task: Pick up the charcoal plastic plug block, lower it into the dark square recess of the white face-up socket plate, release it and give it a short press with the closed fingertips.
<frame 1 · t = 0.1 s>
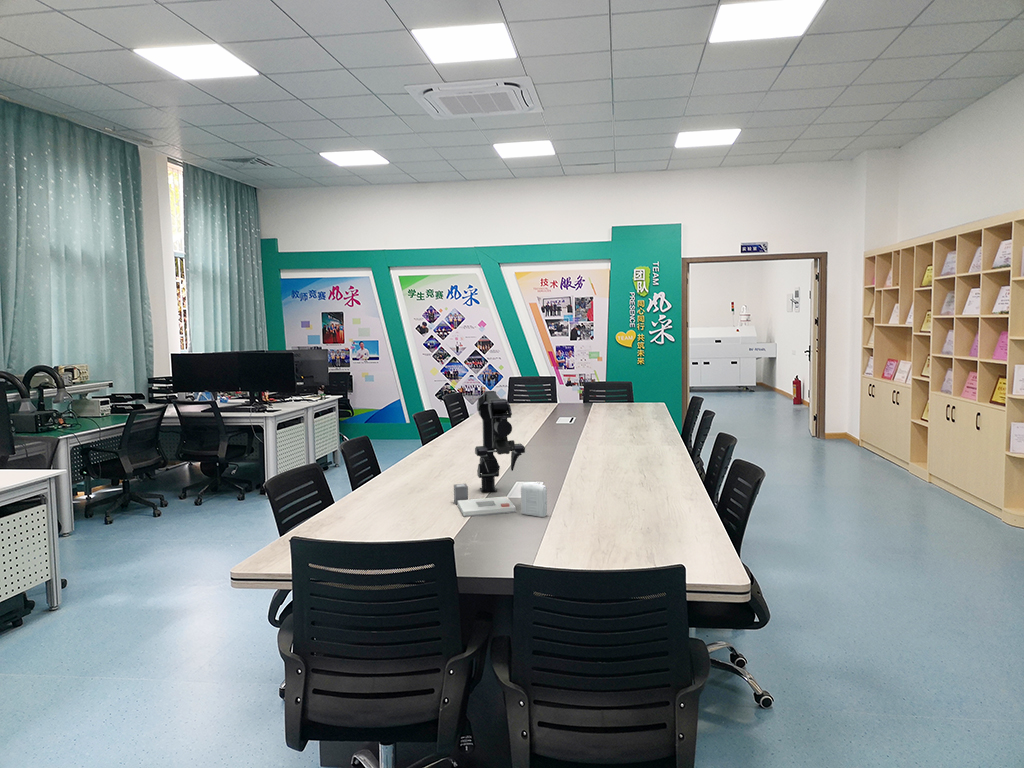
hand: (500, 471, 259), 15 cm above the table, tool pointing down, fingers open, 9 cm apart
plug: (461, 502, 271), on the table
socket plate: (486, 508, 261), on the table
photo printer: (534, 515, 252), on the table
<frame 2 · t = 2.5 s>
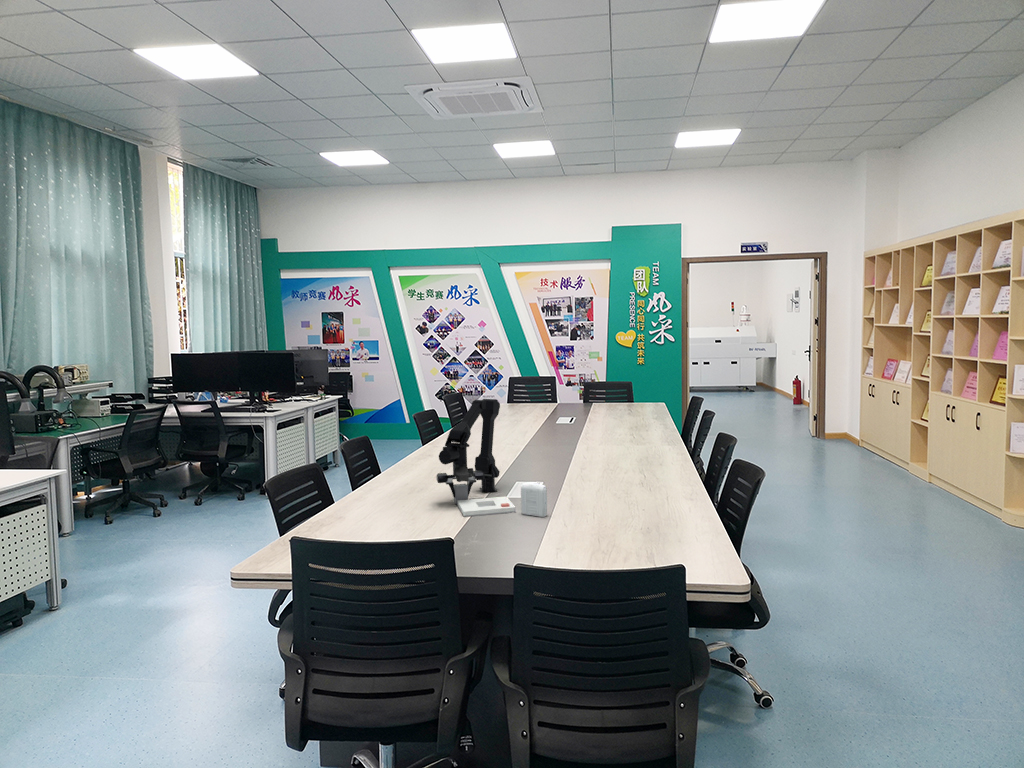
hand: (461, 497, 270), 2 cm above the table, tool pointing down, fingers closed on plug, 5 cm apart
plug: (461, 502, 271), on the table, touching gripper
everything else where it was.
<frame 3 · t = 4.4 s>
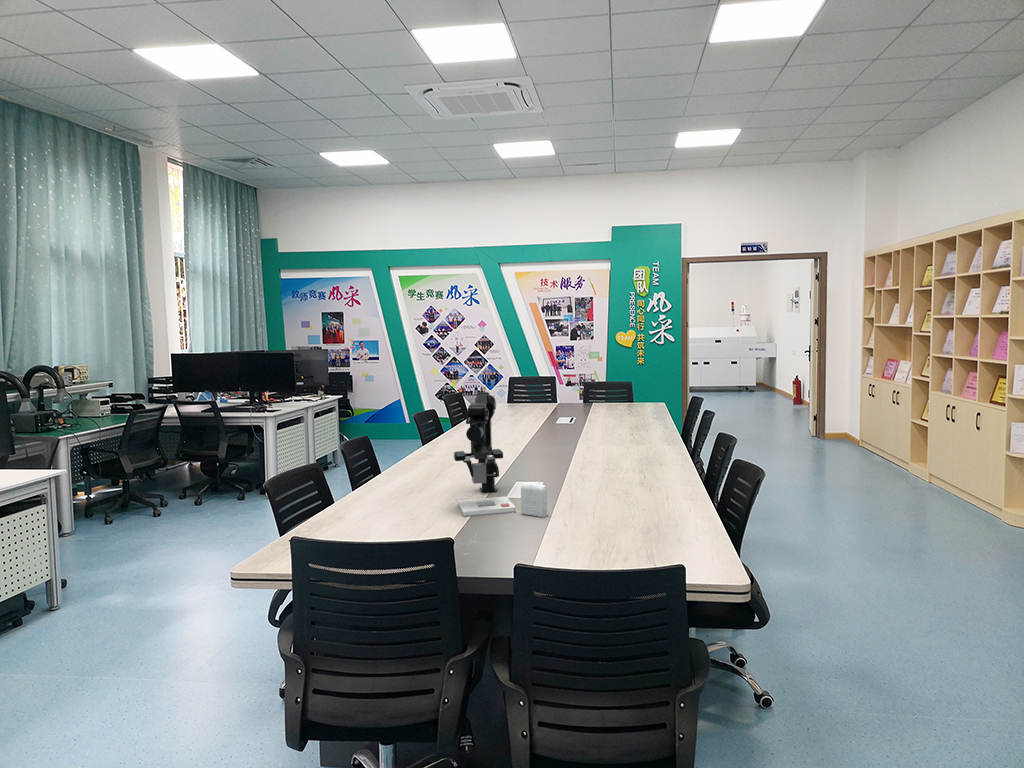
hand: (478, 476, 261), 12 cm above the table, tool pointing down, fingers closed on plug, 5 cm apart
plug: (479, 481, 261), point 10 cm above the table, touching gripper
everything else where it was.
when the fingers open (4 cm above the table, at t = 6.6 s): plug drops 1 cm, resting on socket plate.
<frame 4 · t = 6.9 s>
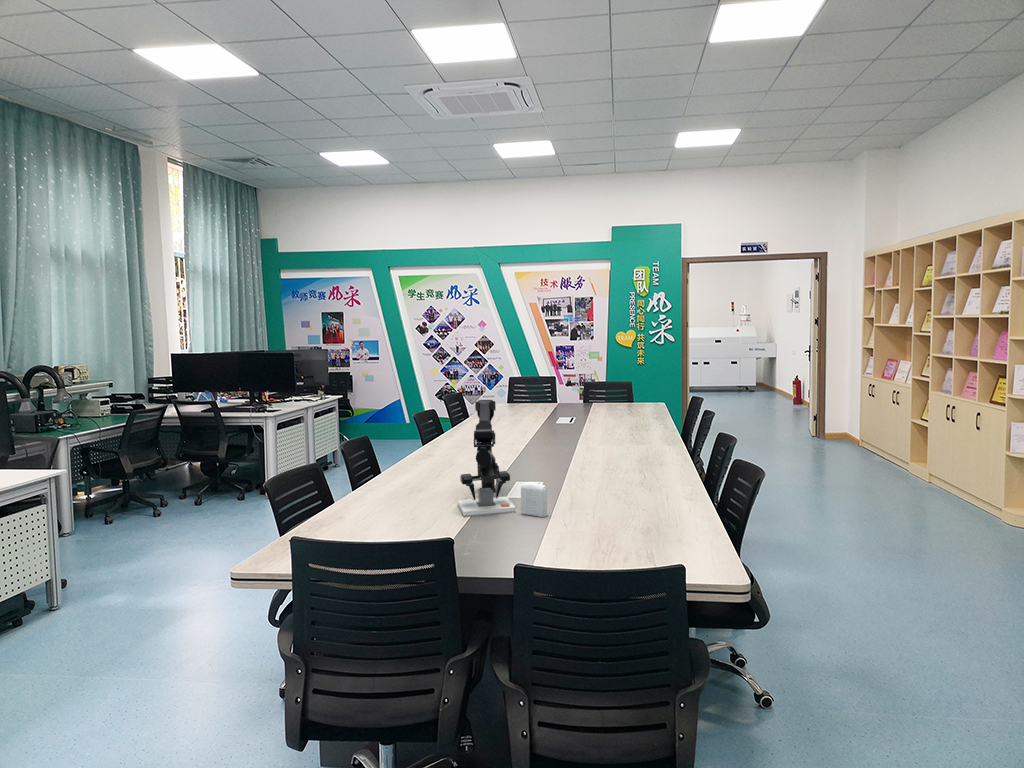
hand: (485, 499, 260), 4 cm above the table, tool pointing down, fingers open, 8 cm apart
plug: (486, 507, 261), point 1 cm above the table, touching socket plate
everything else where it was.
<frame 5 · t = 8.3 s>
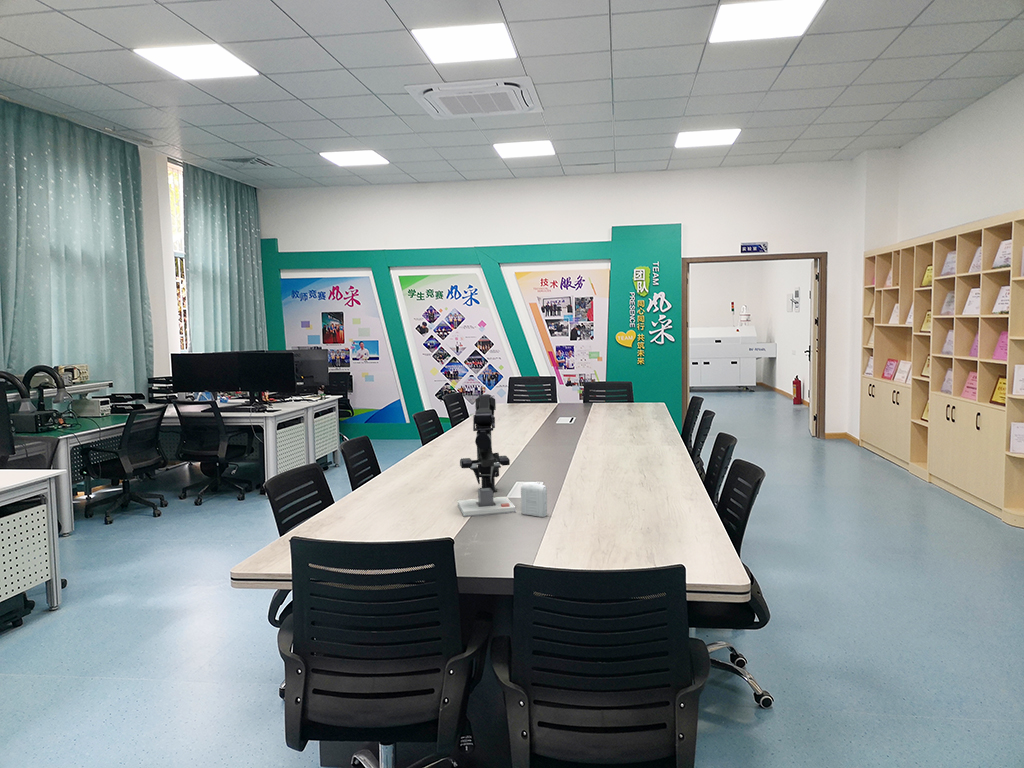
hand: (485, 483, 260), 10 cm above the table, tool pointing down, fingers open, 5 cm apart
nothing on the table moved.
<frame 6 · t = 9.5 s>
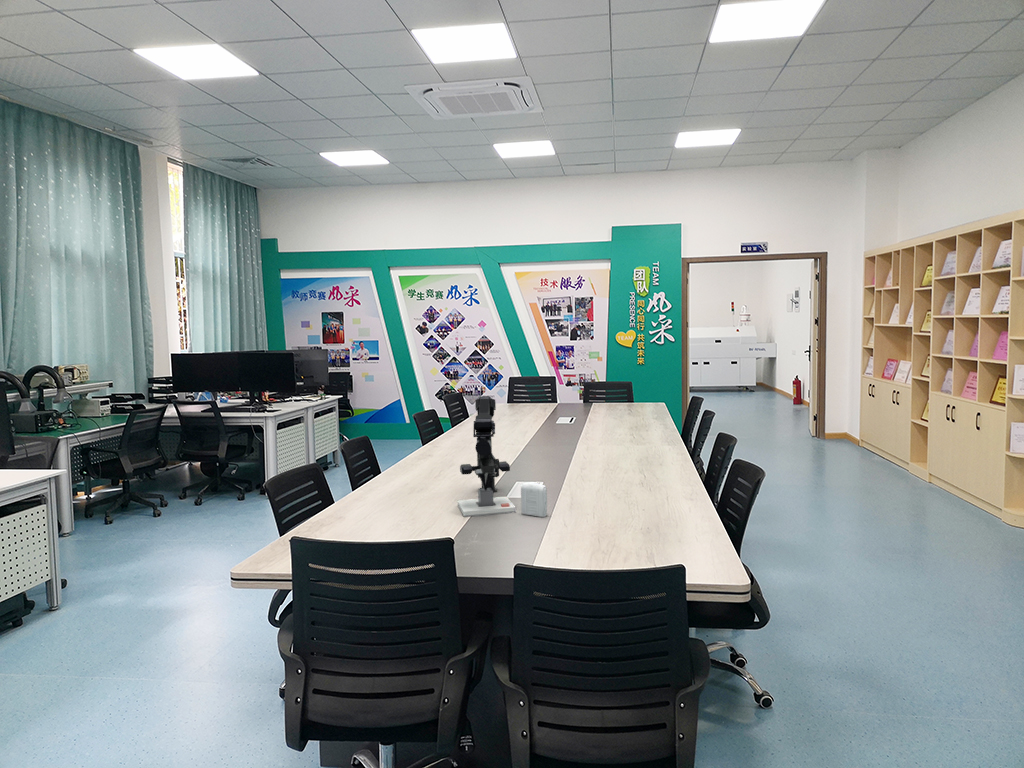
hand: (485, 489, 260), 8 cm above the table, tool pointing down, fingers closed, pressing on plug
plug: (486, 507, 261), point 1 cm above the table, touching gripper, socket plate
everything else where it was.
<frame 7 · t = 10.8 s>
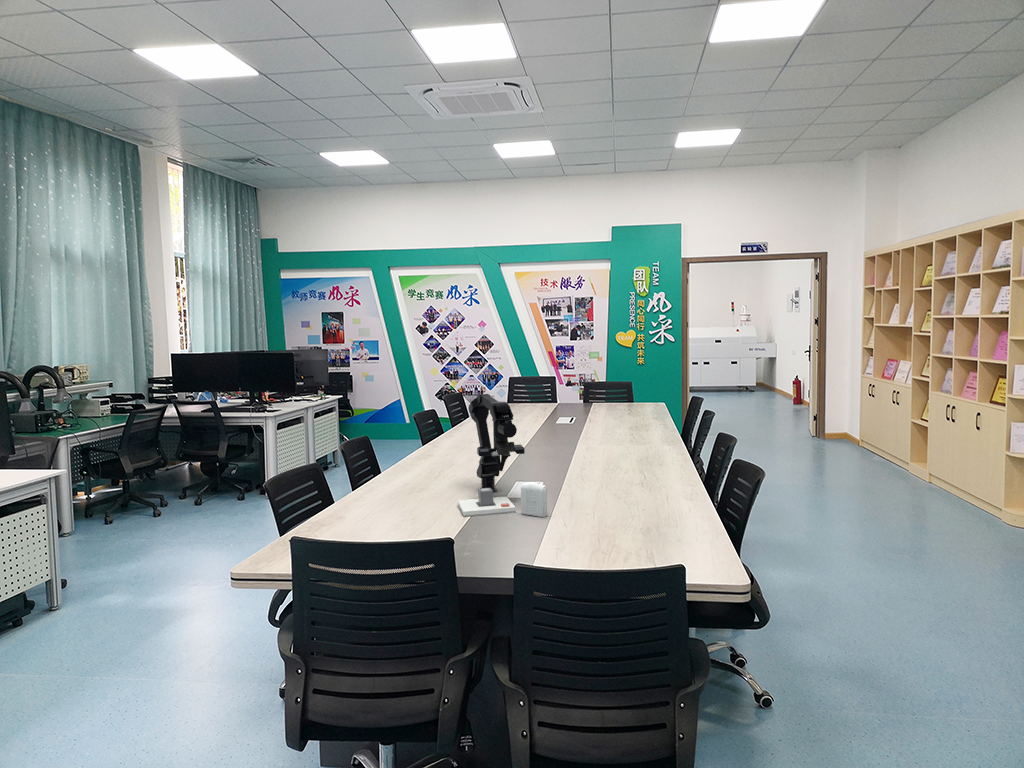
hand: (501, 471, 273), 12 cm above the table, tool pointing down, fingers closed
plug: (486, 507, 261), point 1 cm above the table, touching socket plate
everything else where it was.
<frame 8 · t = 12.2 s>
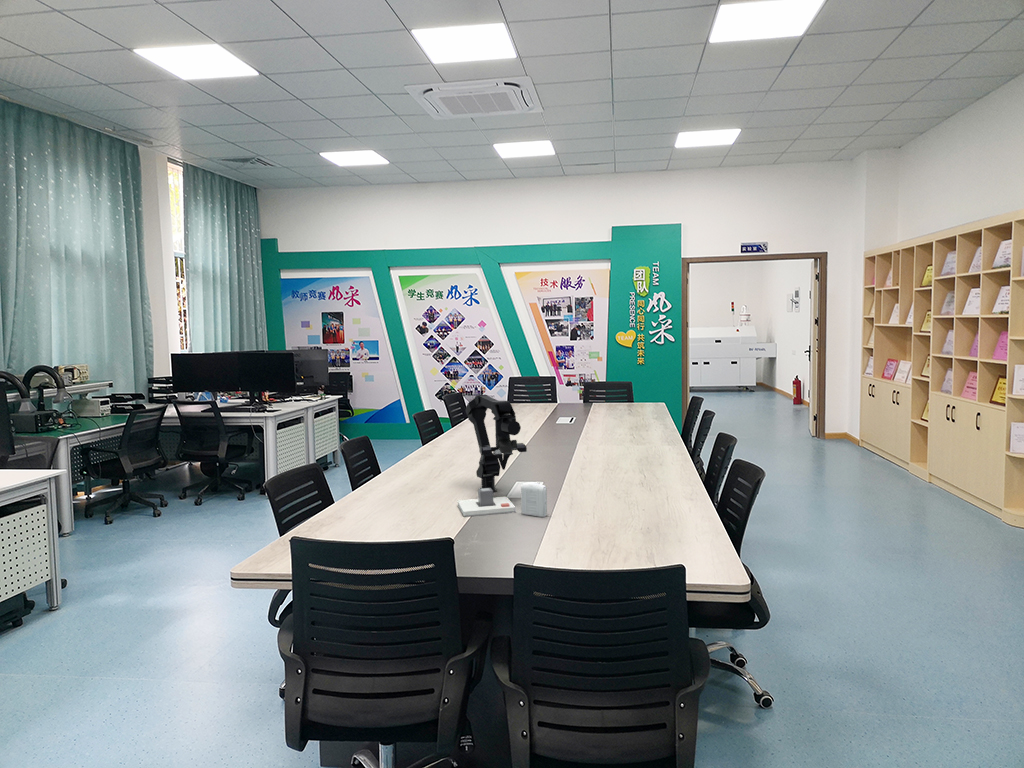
hand: (503, 469, 274), 12 cm above the table, tool pointing down, fingers closed
nothing on the table moved.
at the end: plug 0.0 cm off-centre on the socket plate, point 0.6 cm above the socket plate's base; plug tilted 0°; the gripper is holding nothing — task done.
